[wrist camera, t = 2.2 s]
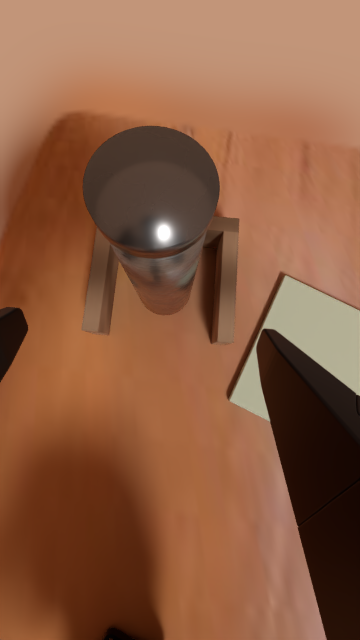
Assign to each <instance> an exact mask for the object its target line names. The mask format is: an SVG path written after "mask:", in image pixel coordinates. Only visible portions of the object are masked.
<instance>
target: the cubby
mask: <svg viewBox="0 0 360 640" xmlns="http://www.w3.org/2000/svg"><path fill="white" fill-rule="evenodd" d="M238 237H239V219H238V218H227V217H216V216H213V220H212V222H211V224H210V227H209V228H208V230H207V232H206V236H205V240H204V244H203V247H208V248H217V254H216V271H215V287H214V304H213V321H212V337H211V344H220V345H227V344H231V343H234V326H235V304H236V282H237V259H238ZM118 262H119V259H118V257H117V256H116V254H115V252H114V250H113V248H112V247H111V245H110V243H109V241H108V240H107V239H106V238H105V237H104V236H103V235H102V233H101V232H100V231H99V229H98V227H97V229H96V236H95V243H94V249H93V256H92V263H91V269H90V276H89V283H88V290H87V296H86V303H85V310H84V317H83V323H82V330H83V331H86V332H90V333H93V334H100V335H109V331H110V324H111V316H112V308H113V301H114V293H115V285H116V277H117V270H118Z"/></svg>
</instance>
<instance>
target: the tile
mask: <svg viewBox="0 0 360 640" xmlns="http://www.w3.org/2000/svg"><path fill="white" fill-rule="evenodd" d="M264 328H267V329H275V330H276V331H278V332H279V333H280V334H281V335H283V336H284V337H285V338H286V339H288V340H289V341H290V342H292V343H293V344H294V345H295V346H297V347H298V348H299V349H300V350H302V351H303V352H304V353H306V354H307V355H308V356H309V357H311V358H312V359H313V360H315V361H316V362H317V363H318V364H320V365H321V366H322V367H323V368H325V369H326V370H327V371H329V372H330V373H331V374H332V375H334V376H335V377H336V378H337V379H339V380H340V381H341V382H343V383H344V384H345V385H346V386H348V387H349V388H350V389H352V390H353V391H354V392H355V393H356V395H359V396H360V311H359V310H357V309H355V308H353V307H351V306H349V305H347V304H345V303H343V302H340V301H338V300H336V299H334V298H332V297H330V296H328V295H326V294H324V293H322V292H320V291H318V290H315V289H313V288H311V287H309V286H307V285H305V284H303V283H301V282H299V281H297V280H295V279H293V278H290V277H288V276H286V275H285V276H284V277H283V278H282V280H281V283H280V285H279V287H278V289H277V292H276V294H275V296H274V298H273V301H272V303H271V305H270V307H269V310H268V312H267V314H266V316H265V318H264V321H263V323H262V325H261V327H260V330H259V332H258V334H257V336H256V339H255V341H254V343H253V345H252V348H251V350H250V352H249V354H248V357H247V359H246V361H245V363H244V365H243V368H242V370H241V372H240V374H239V377H238V379H237V381H236V383H235V386H234V388H233V390H232V392H231V395H230V397H229V399H228V400H229V401H231V402H232V403H234V404H236V405H238V406H240V407H242V408H244V409H246V410H248V411H250V412H252V413H254V414H256V415H258V416H260V417H262V418H264V419H266V420H268V421H270V419H269V415H268V411H267V407H266V403H265V400H264V396H263V392H262V388H261V382H260V375H259V368H258V360H257V353H256V346H257V342H258V340H259V337H260V334H261V331H262V330H263V329H264Z"/></svg>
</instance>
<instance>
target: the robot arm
mask: <svg viewBox="0 0 360 640" xmlns="http://www.w3.org/2000/svg"><path fill="white" fill-rule="evenodd" d="M27 331H28V325H27V322H26V319H25V317H24V314H23V312H22V310H21V309H20V308H15V307H6V308H3V309H0V382H1V380H2V379H3V377H4V376H5V374H6V372H7V371H8V369H9V367H10V366H11V364H12V362H13V360H14V358H15V356H16V354H17V352H18V350H19V348H20V346H21V344H22V342H23V340H24V338H25V336H26V334H27ZM256 353H257V360H258V368H259V375H260V382H261V388H262V392H263V396H264V400H265V403H266V407H267V411H268V415H269V419H270V423H271V427H272V430H273V434H274V438H275V442H276V446H277V450H278V453H279V457H280V461H281V465H282V469H283V473H284V477H285V480H286V484H287V488H288V492H289V496H290V500H291V503H292V507H293V511H294V515H295V519H296V523H297V526H299V527H298V531H299V535H300V539H301V543H302V546H303V550H304V554H305V558H306V562H307V566H308V569H309V573H310V577H311V581H312V585H313V589H314V593H315V596H316V600H317V604H318V608H319V612H320V616H321V619H322V623H323V627H324V631H325V635H326V638H327V640H360V396H359V395H356V393H355V392H354V391H353V390H352V389H350V388H349V387H348V386H346V385H345V384H344V383H343V382H341V381H340V380H339V379H337V378H336V377H335V376H334V375H332V374H331V373H330V372H329V371H327V370H326V369H325V368H323V367H322V366H321V365H320V364H318V363H317V362H316V361H315V360H313V359H312V358H311V357H309V356H308V355H307V354H306V353H304V352H303V351H302V350H300V349H299V348H298V347H297V346H295V345H294V344H293V343H292V342H290V341H289V340H288V339H286V338H285V337H284V336H283V335H281V334H280V333H279V332H278V331H276V330H275V329H267V328H264V329H263V330H262V331H261V334H260V337H259V340H258V342H257V346H256ZM110 638H111V639H113V640H135V639H133V638H131V637H129V636H128V635H126V634H124V633H122V632H121V631H119V630H117V629H115V628H109V629H108V630H107V631H106V632H105V635H104V637H103V639H102V640H109V639H110Z"/></svg>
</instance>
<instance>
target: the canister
mask: <svg viewBox="0 0 360 640" xmlns="http://www.w3.org/2000/svg"><path fill="white" fill-rule="evenodd" d="M219 191H220V185H219V177H218V173H217V169H216V166H215V164H214V162H213V160H212V159H211V157H210V155H209V154H208V153H207V151H206V150H205V149H204V148H203V147H202V146H201V145H200V144H199V143H198V142H197V141H195V140H194V139H192V138H191V137H189V136H188V135H186V134H184V133H182V132H179V131H177V130H174V129H170V128H166V127H160V126H142V127H136V128H131V129H128V130H125V131H123V132H120V133H118V134H116V135H114V136H113V137H111V138H109V139H108V140H107V141H106V142H104V143H103V144H102V145H101V146H100V147H99V148H98V149H97V150H96V152H95V153H94V154H93V156H92V157H91V159H90V161H89V163H88V165H87V167H86V170H85V174H84V178H83V196H84V200H85V204H86V207H87V209H88V211H89V213H90V215H91V217H92V219H93V220H94V222H95V224H96V225H97V227H98V229H99V231H100V232H101V233H102V235H103V236H104V237H105V238H106V239H107V240H108V241H109V243H110V245H111V247H112V248H113V250H114V252H115V254H116V256H117V257H118V259H119V261H120V263H121V264H122V266H123V268H124V270H125V272H126V273H127V275H128V277H129V279H130V281H131V282H132V284H133V286H134V288H135V290H136V291H137V293H138V295H139V297H140V299H141V300H142V302H143V304H144V305H145V307H146V308H147V309H149V310H150V311H152V312H153V313H156V314H159V315H170V314H174V313H176V312H178V311H180V310H181V309H182V308H183V307H184V306H185V305H186V303H187V302H188V299H189V296H190V292H191V288H192V285H193V281H194V277H195V274H196V270H197V266H198V262H199V259H200V255H201V251H202V247H203V244H204V240H205V236H206V232H207V230H208V228H209V227H210V224H211V222H212V220H213V216H214V213H215V209H216V206H217V202H218V199H219Z"/></svg>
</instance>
